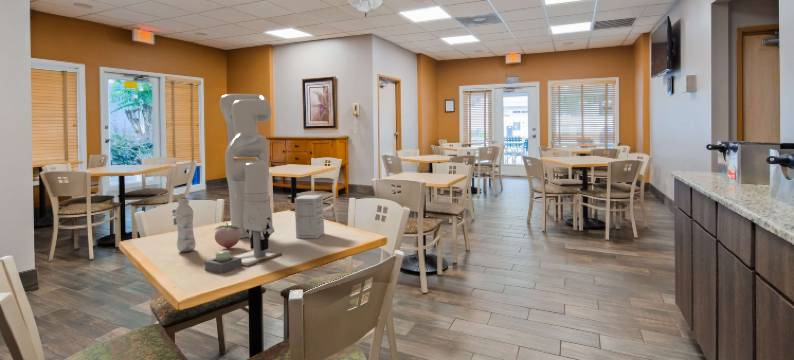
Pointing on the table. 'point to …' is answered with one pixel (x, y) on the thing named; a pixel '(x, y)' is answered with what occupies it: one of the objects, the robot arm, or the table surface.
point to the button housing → (223, 265)
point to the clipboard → (249, 257)
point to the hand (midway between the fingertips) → (259, 248)
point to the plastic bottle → (185, 226)
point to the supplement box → (309, 216)
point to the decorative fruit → (227, 235)
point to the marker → (258, 245)
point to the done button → (222, 255)
